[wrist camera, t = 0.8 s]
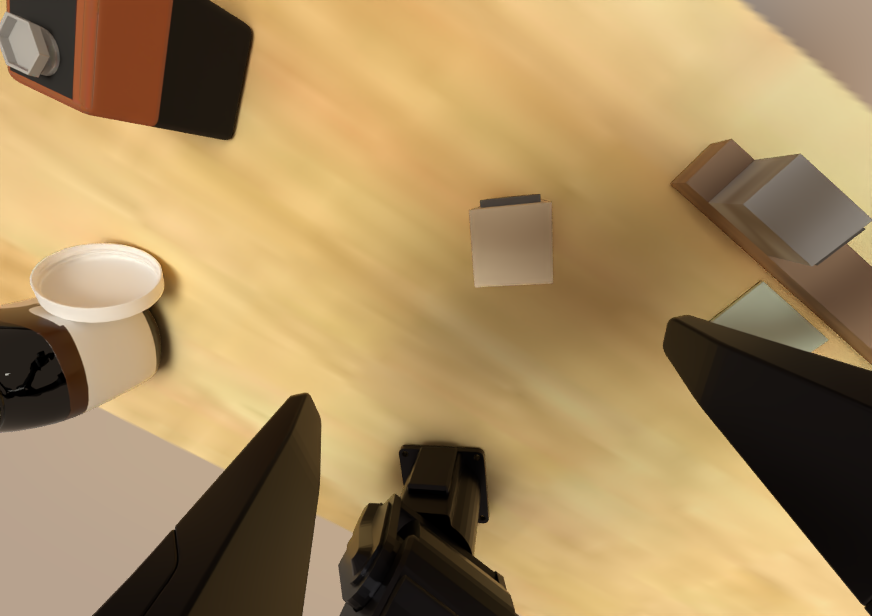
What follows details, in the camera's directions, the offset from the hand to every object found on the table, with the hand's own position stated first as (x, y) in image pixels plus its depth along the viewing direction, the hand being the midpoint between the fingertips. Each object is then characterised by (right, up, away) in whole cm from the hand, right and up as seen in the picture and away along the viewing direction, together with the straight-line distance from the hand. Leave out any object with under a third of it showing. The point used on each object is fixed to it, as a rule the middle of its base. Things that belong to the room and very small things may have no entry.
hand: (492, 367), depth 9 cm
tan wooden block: (+3, +6, +13) cm, 15 cm away
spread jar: (-26, +1, +22) cm, 34 cm away
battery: (-15, +16, +15) cm, 27 cm away
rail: (+18, +1, +12) cm, 22 cm away
